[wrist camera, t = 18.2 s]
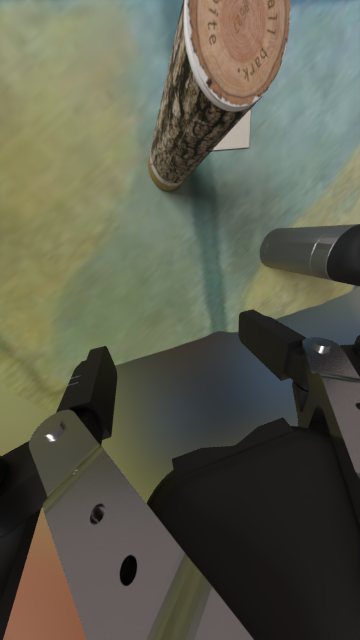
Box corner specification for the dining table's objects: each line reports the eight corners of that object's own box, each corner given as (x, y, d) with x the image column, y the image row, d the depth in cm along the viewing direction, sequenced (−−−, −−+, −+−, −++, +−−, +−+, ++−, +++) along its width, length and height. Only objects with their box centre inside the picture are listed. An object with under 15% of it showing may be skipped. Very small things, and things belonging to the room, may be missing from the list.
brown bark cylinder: (190, 165, 32) (309, 18, 11) (171, 200, 34) (242, 135, 12) (159, 134, 30) (238, -154, 8) (141, 174, 31) (162, 29, 9)
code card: (252, 49, 28) (253, 48, 28) (248, 147, 34) (249, 147, 33) (182, 47, 26) (183, 46, 26) (190, 152, 32) (191, 151, 31)
